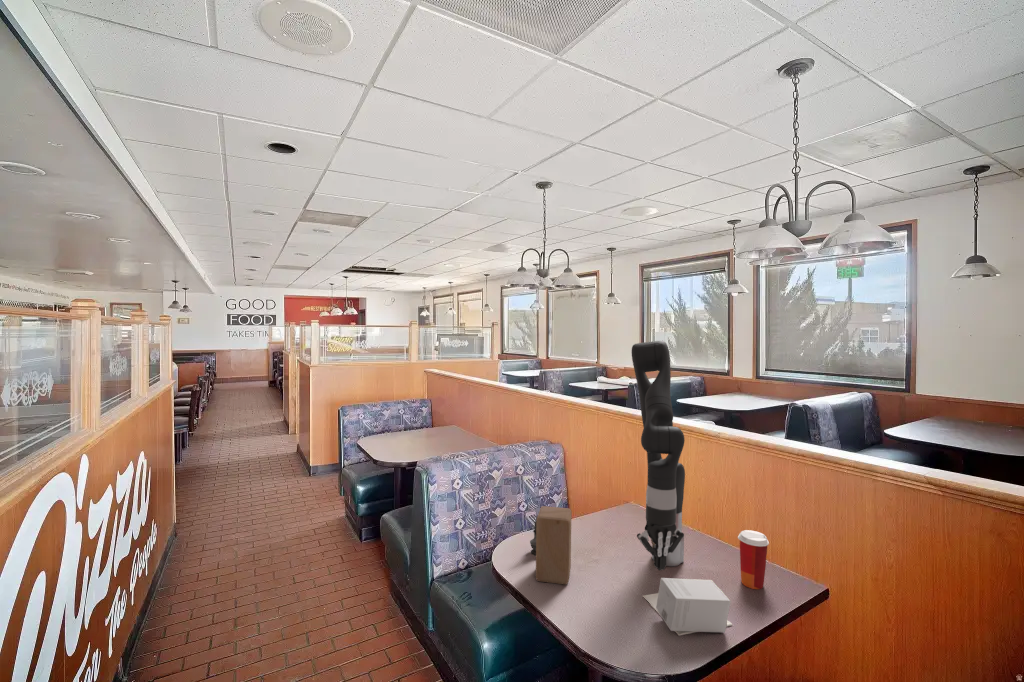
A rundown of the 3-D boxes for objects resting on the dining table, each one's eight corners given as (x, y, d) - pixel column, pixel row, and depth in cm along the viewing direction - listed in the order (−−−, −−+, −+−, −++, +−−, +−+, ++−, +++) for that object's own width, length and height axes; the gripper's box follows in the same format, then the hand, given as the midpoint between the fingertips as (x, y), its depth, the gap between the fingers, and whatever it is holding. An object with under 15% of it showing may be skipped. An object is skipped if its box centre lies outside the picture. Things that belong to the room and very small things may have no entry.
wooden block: (568, 586, 137) (569, 520, 137) (535, 582, 139) (536, 517, 139) (570, 569, 147) (571, 507, 146) (539, 565, 149) (540, 504, 148)
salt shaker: (528, 548, 160) (529, 514, 160) (545, 548, 161) (545, 514, 160) (530, 556, 154) (531, 521, 154) (548, 556, 155) (548, 521, 155)
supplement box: (670, 632, 114) (726, 634, 116) (676, 598, 114) (732, 600, 116) (655, 608, 123) (707, 610, 125) (660, 576, 123) (712, 579, 125)
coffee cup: (764, 579, 142) (766, 531, 142) (770, 594, 134) (771, 543, 134) (734, 574, 145) (736, 527, 144) (738, 588, 137) (739, 538, 137)
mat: (690, 589, 136) (690, 587, 136) (732, 625, 120) (732, 624, 120) (642, 596, 132) (642, 595, 132) (678, 635, 116) (678, 634, 116)
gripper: (674, 495, 124) (673, 558, 125) (630, 499, 121) (629, 564, 121) (692, 506, 117) (690, 572, 118) (646, 511, 114) (644, 579, 114)
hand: (659, 568), depth 120 cm, fingers closed
